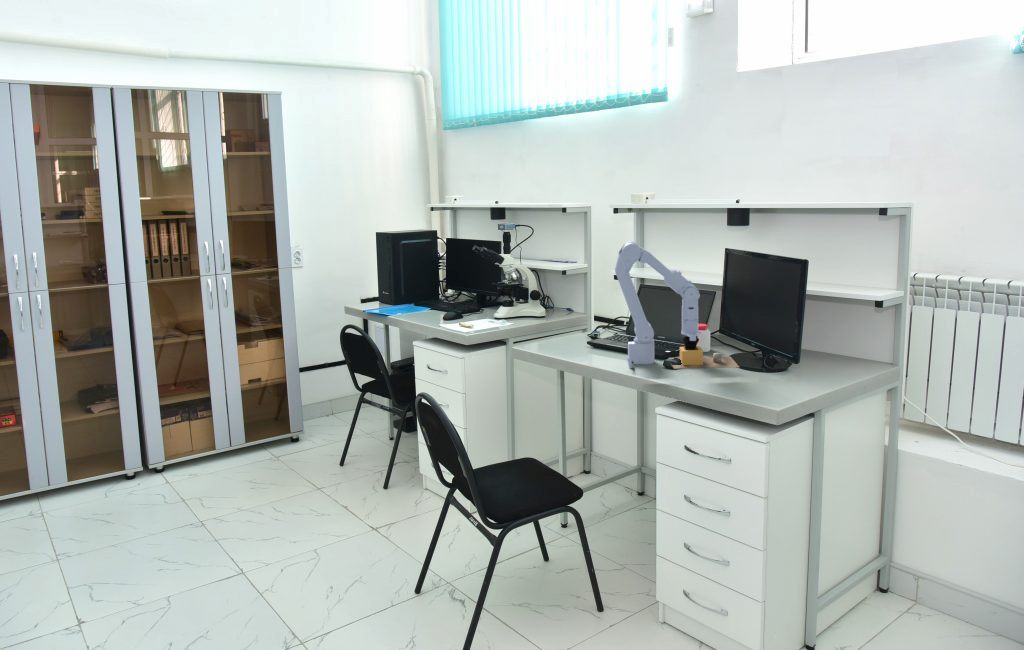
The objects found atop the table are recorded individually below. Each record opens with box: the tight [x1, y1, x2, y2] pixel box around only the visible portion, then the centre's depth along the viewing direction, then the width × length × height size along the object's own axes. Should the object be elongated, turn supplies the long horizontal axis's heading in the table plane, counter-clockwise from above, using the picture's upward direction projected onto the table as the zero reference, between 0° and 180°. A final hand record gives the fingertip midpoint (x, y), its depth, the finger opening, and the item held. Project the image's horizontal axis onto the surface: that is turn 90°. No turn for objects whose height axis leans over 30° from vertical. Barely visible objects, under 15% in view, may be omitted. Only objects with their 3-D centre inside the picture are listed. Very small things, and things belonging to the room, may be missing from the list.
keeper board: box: [668, 352, 740, 370], centre depth 265 cm, size 22×16×4 cm
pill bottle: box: [696, 323, 711, 353], centre depth 284 cm, size 8×8×11 cm
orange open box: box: [679, 346, 704, 365], centre depth 265 cm, size 7×7×5 cm
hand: (689, 356), depth 268 cm, fingers closed
